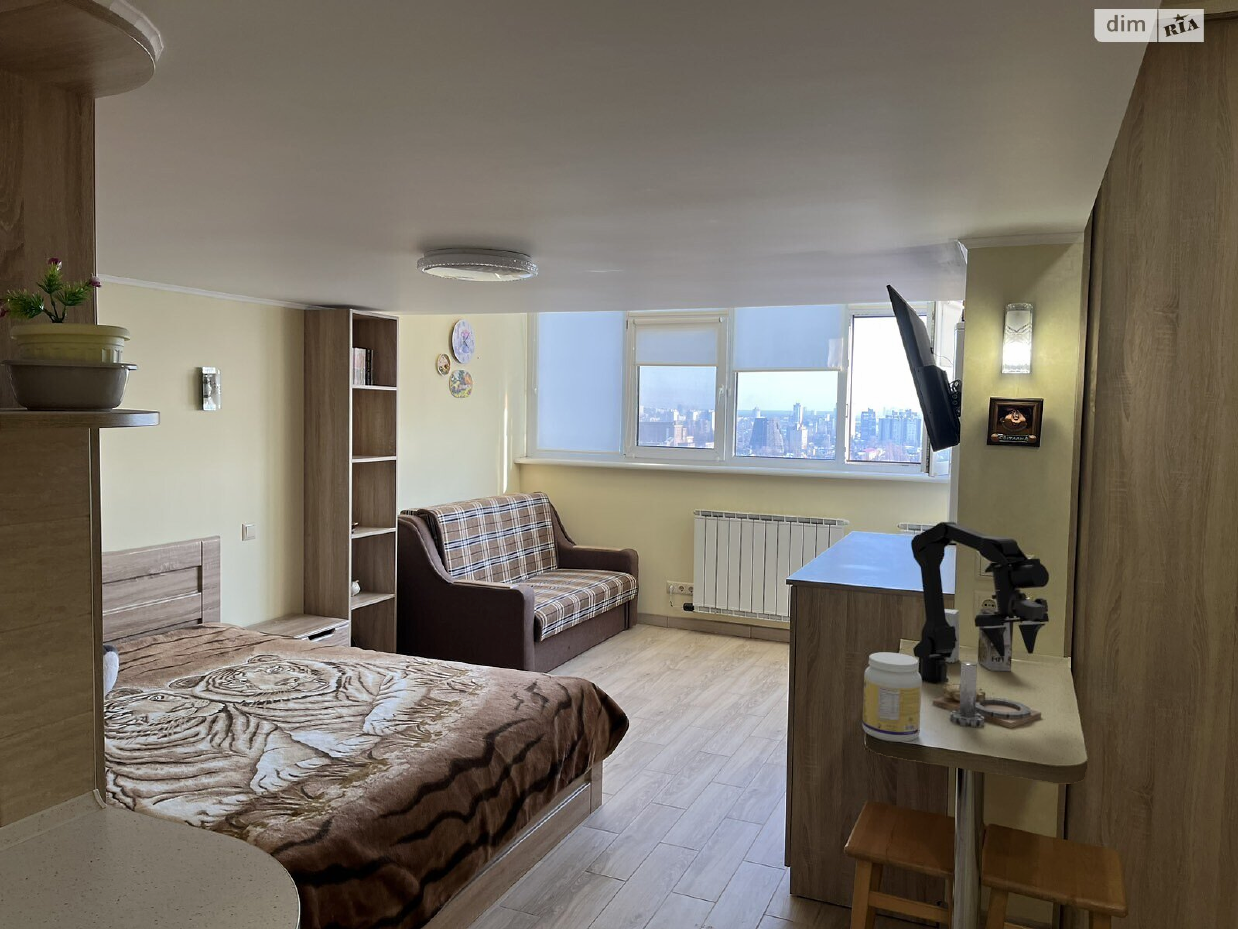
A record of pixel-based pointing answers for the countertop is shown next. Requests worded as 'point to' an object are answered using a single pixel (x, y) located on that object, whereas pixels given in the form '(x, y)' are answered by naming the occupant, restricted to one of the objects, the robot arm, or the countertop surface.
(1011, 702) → the gear board
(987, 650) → the coffee box
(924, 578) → the robot arm
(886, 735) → the supplement tub
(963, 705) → the gear
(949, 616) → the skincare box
